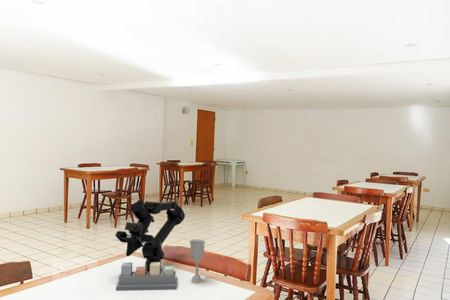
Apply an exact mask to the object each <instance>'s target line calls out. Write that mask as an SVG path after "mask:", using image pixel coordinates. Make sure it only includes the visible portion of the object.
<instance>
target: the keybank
mask: <svg viewBox="0 0 450 300" xmlns="http://www.w3.org/2000/svg"><path fill="white" fill-rule="evenodd" d="M176 273H177V271H176V270H174V275H168V276H164V270H162V271H160V276H150V271H149V272H147V271H146V276H136V271H132V276H121V273H119V275H118V283H117V284H116V286H115V291H152V290H153V291H157V290H162V291H163V290H167V291H168V290H177V289H178V276H176V275H177V274H176Z"/></svg>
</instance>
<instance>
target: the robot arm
mask: <svg viewBox="0 0 450 300" xmlns="http://www.w3.org/2000/svg"><path fill="white" fill-rule="evenodd" d="M129 208H130V209H129V210H130V212H131V213H132V215H133V216H134V217H135V219H137V222H126V224H125V226H124V230H125V231H124V230H118V231H116V233H115V234H114V236H115V237H116V239H118V241H120V243H125V244H126V252H125V256H126V257H130V256H131V255H132V254H133V253H135V252H136V251H138V250H139V249H140V248H142V249H141V252H142V256H143V259H146V260H145V266H144V267H146V272H149V271H150V264H151V262H160V271H163V269H162V260H163V259H164V257H165V252H164V251H163V246H162V245H163V243H164V242H165V240H166V239H167V238H168V236H169V235H170V234H171V232H172V230H173V229H174V228H175V227H176V226H178V225H180V224H182V222H183V221H184V220H185V217H186V214H185V211H184V210H183V208H182V207H181V206H179V204H178V203H177V201H173V200H168V201H161V202H160V201H159V202H158V201H145V202H144V201H143V200H140V199H138V200H137V201H136V202H134V203H133V204H132V205H130V207H129ZM163 211H166V212H165V213H166V216H167V217H166V219H167V220H166V221H165V223H164V224H163V225H162V226H161V228H160V229H159V230H158V232H157V233H156V235H152V234H148V233H149V227H150V225H151V223H155V218H154V216H153V215H158V214H160V213H161V212H163ZM126 231H128V232H126Z"/></svg>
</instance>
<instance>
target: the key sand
mask: <svg viewBox="0 0 450 300" xmlns="http://www.w3.org/2000/svg"><path fill="white" fill-rule="evenodd" d="M150 276H160V262H151V264H150Z"/></svg>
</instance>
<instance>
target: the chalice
mask: <svg viewBox="0 0 450 300" xmlns="http://www.w3.org/2000/svg"><path fill="white" fill-rule="evenodd" d="M188 242H189V243H190V255H191V257H192V260H193V261H194V262H195V270H194V271H195V275H193V276H192V279H191V280H190V282H191V283H193V284H200V283H202V282H203V279H202V276H201V275H200V274H199V271H200V270H199V266H200V265H199V262H201V261H202V259H203V256H204V254H205V243H206V240H204V239H201V238H197V239H195V238H194V239H190V240H189V241H188Z"/></svg>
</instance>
